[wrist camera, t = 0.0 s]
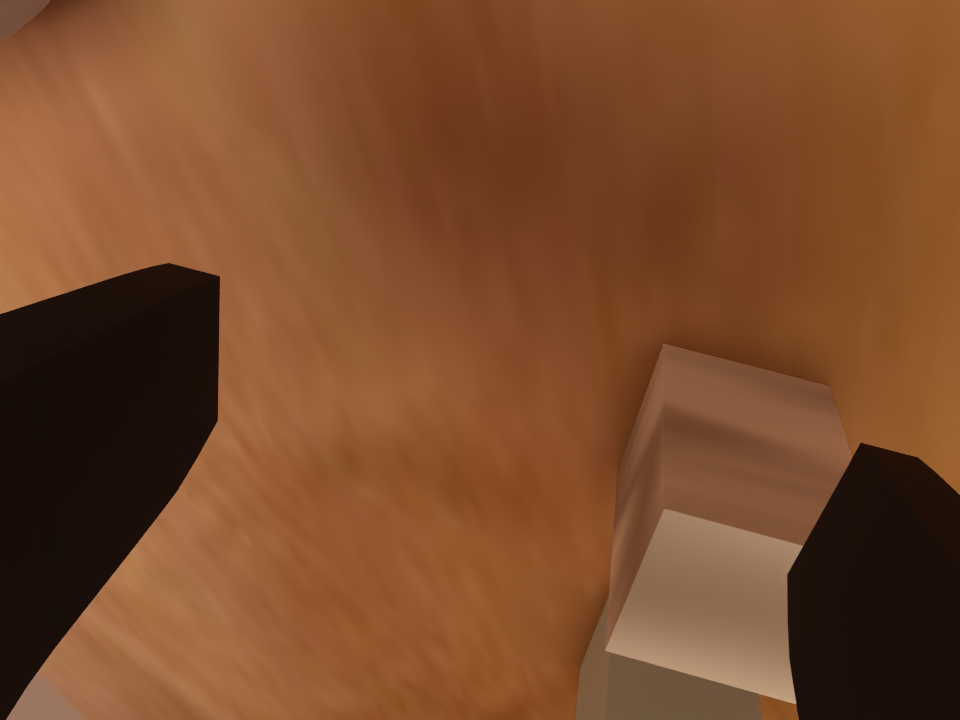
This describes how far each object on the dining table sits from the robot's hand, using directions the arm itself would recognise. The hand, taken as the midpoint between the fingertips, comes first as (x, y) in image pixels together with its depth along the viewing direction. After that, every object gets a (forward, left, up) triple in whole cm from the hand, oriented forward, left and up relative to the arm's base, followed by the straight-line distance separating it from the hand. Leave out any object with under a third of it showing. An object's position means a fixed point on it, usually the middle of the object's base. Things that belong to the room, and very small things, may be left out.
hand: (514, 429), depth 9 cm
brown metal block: (-6, -5, -10) cm, 13 cm away
